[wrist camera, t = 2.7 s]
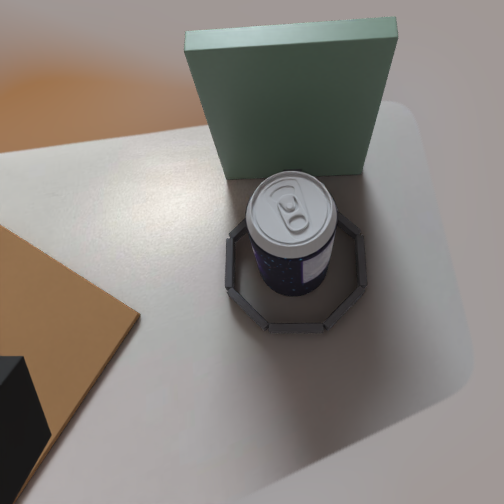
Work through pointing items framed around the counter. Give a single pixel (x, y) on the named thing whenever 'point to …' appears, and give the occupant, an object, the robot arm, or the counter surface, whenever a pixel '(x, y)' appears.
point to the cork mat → (56, 329)
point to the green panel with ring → (293, 112)
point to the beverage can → (292, 231)
